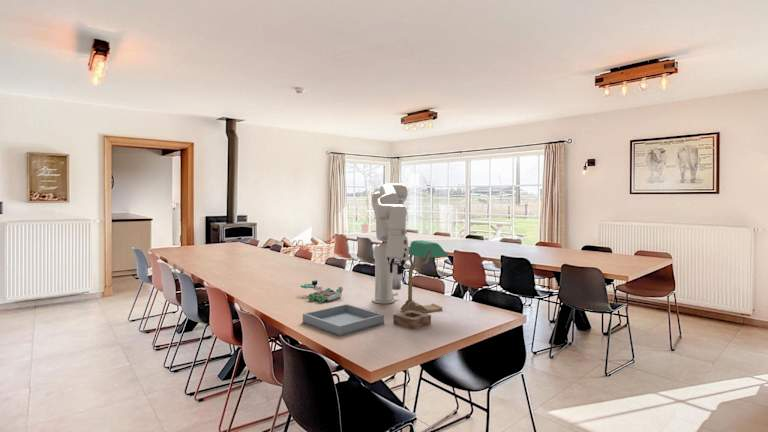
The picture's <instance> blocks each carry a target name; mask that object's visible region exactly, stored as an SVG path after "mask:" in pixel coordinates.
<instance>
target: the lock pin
mask: <svg viewBox="0 0 768 432" xmlns="http://www.w3.org/2000/svg"><path fill="white" fill-rule="evenodd" d="M398 265H399V262H398V261H395V262H392V291H394V290H395V291H398V290H399V291H400V290H402V289H401V288H402V274H398Z"/></svg>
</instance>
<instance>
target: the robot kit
mask: <svg viewBox="0 0 768 432" xmlns="http://www.w3.org/2000/svg"><path fill="white" fill-rule="evenodd" d="M300 288H302V289H312V290H313V291H314V290H315V292H313V293H311V292H310V293H309V294H308V296H307V297H308V298H307V299H308V300H309V302H314V301H315V300H316V301H318V302H319V303H320V304H321V303H324V302H325V301H326V300H327V301H331V300H334V299H337V298H340V297H342V294H343V287H342V286H339V287H338V288H337V289H334V288H331V287H328V288H327V287H326V289H323V286H319V285H318V279H314V280H312V281H311V283H304V285H303V284H301V285H300Z"/></svg>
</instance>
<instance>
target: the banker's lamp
mask: <svg viewBox="0 0 768 432" xmlns="http://www.w3.org/2000/svg"><path fill="white" fill-rule="evenodd" d="M409 245H410V246H409V260H408V261H409V264H410V266H409V269H408V282H407V283H408V284H407V286H408V287H407V288H408V289H407V300H406V301H405V302H404V304H402V306H401V307H400V312H401V313H402V312H405V311H409V310H413V311H417V312H421V313H425V314H428V313H435V312H441V311H443V306H441V305H438V304H435V303H431V304H427V305H422V304H420V303H417V302H416V301H414V299H413V272H414V269H415V267H418V266H423V265H427V264H428V263H429V261H430V258H440V257H449V255H448V253H447V252H446V251H445V250H444V249H443V247H442V246H441V245H440V244H439V243H437V242H432V241H428V240H427V241H426V240H413V241H411V243H410V244H409ZM413 256H415V257H418V258H422V259H425V260H424V261H423V262H419V263H416V264H414V261H413Z"/></svg>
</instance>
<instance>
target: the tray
mask: <svg viewBox="0 0 768 432" xmlns="http://www.w3.org/2000/svg"><path fill="white" fill-rule="evenodd" d="M302 323H304V324H306V325H308V326H311V327H314V328H316V329H320V330H322V331H325V332H327V333H330V334H333V335H336V336H338V337H340V336H344V335H348V334H351V333H354V332H359V331H362V330H365V329H366V330H367V329H368V328H369V329H370V328H373V327H377V326H379V325H384V324H385V314H384V313H380V312H377V311H373V310H369V309H365V308H363V307H359V306H355V305H352V304H348V303H345V304H340V305H335V306H332V307H328V308H322V309H317V310H315V311H314V310H313V311H308V312H305V313H304V312H303V313H302Z"/></svg>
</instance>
